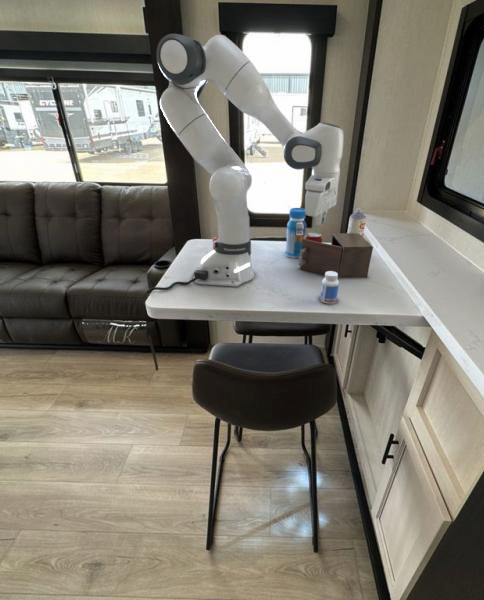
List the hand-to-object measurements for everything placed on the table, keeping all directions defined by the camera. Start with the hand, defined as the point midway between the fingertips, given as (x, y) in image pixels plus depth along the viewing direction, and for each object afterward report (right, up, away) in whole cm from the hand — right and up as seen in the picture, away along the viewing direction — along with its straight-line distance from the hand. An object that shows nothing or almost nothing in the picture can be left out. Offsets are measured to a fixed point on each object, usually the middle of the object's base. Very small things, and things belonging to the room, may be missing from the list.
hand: (320, 223), depth 105 cm
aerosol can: (+20, -5, +35) cm, 41 cm away
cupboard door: (+1, -17, +13) cm, 21 cm away
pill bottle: (+2, -27, -3) cm, 27 cm away
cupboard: (+14, -14, +19) cm, 27 cm away
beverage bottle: (-6, -6, +31) cm, 32 cm away
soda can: (0, -10, +25) cm, 27 cm away
